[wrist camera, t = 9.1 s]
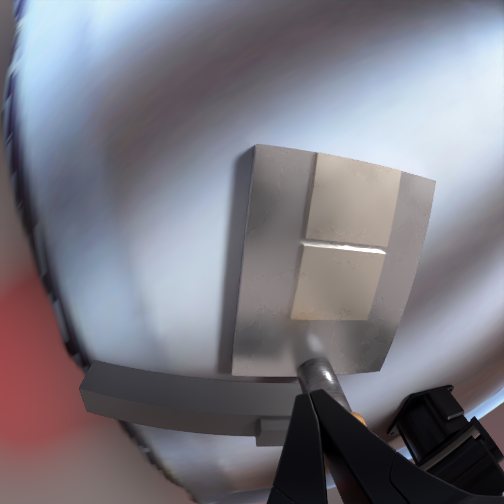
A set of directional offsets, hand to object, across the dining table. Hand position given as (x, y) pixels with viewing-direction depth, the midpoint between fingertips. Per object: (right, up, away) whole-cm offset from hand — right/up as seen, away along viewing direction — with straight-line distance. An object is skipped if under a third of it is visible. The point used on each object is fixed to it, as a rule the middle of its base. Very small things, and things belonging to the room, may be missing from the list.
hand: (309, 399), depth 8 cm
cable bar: (-3, -4, +7) cm, 9 cm away
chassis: (+3, +3, +9) cm, 10 cm away
